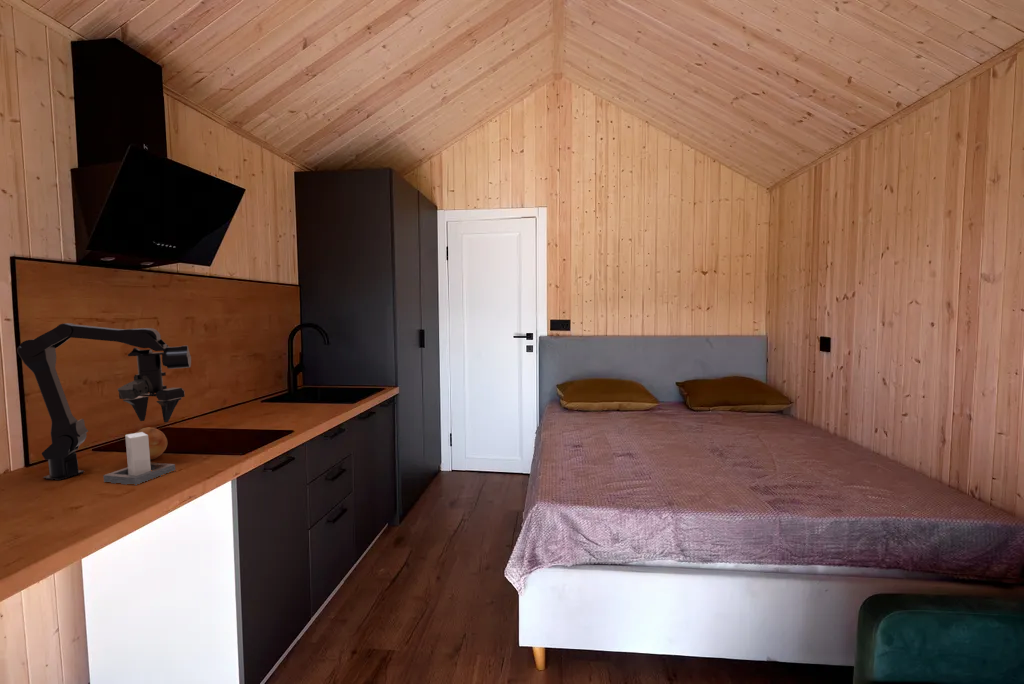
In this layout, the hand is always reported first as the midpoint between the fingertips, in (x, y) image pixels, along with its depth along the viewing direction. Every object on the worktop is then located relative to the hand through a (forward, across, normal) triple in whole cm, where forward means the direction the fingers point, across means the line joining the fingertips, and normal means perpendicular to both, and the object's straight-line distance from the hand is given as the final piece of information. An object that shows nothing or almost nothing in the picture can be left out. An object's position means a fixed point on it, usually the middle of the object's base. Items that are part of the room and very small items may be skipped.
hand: (154, 421), depth 148 cm
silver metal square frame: (+13, +6, -10) cm, 17 cm away
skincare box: (+13, +6, -10) cm, 18 cm away
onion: (+13, -7, +3) cm, 15 cm away
